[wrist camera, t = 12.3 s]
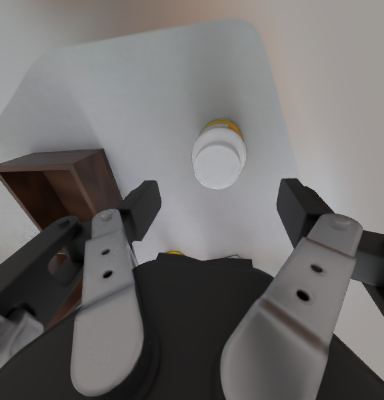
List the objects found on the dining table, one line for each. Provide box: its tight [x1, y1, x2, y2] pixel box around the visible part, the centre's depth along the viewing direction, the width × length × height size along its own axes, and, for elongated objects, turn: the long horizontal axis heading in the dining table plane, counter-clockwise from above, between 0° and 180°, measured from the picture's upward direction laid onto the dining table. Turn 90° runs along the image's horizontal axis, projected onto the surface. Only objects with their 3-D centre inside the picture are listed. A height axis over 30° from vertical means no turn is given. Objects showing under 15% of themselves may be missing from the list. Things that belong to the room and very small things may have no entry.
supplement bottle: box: [192, 119, 247, 189], centre depth 18 cm, size 5×5×10 cm
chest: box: [0, 149, 123, 253], centre depth 29 cm, size 18×14×6 cm
